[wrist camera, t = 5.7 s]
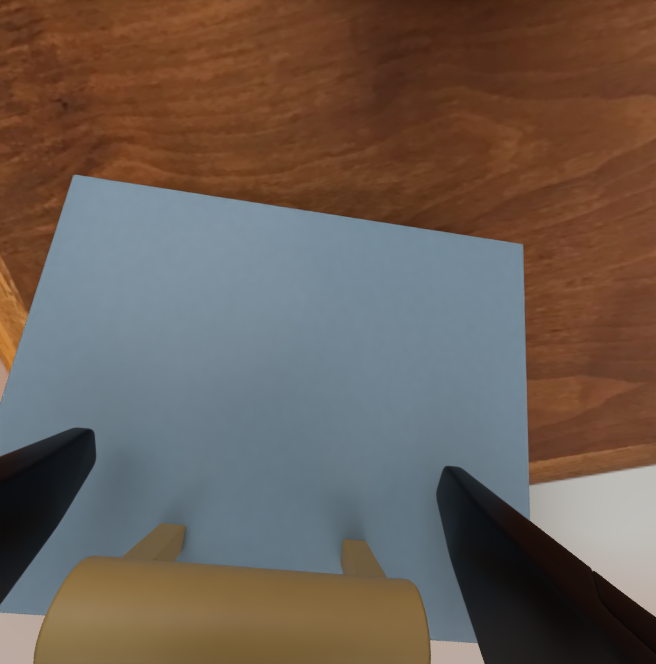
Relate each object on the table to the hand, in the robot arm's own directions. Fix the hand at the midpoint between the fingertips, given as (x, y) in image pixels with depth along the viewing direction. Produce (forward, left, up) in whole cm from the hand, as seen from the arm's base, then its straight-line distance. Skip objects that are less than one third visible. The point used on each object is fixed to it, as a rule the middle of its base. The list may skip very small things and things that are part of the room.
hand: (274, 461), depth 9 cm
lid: (+1, 0, -3) cm, 3 cm away
